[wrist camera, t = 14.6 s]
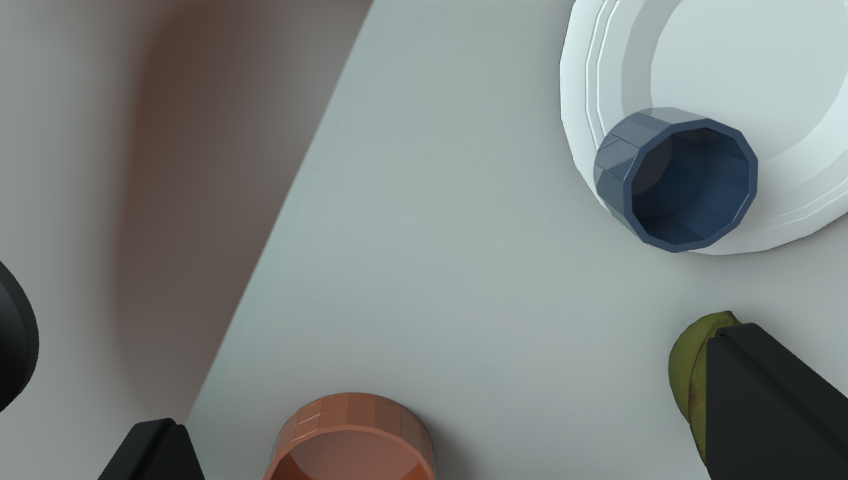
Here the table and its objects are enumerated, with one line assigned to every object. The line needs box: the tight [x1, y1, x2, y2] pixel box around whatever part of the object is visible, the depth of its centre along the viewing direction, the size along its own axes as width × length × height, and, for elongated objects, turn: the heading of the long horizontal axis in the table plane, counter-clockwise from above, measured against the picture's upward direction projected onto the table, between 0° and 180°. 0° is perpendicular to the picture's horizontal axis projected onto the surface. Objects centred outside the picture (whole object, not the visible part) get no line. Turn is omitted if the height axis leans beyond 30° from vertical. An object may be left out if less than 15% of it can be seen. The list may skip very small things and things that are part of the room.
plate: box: [559, 0, 848, 256], centre depth 37 cm, size 25×25×2 cm
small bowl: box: [593, 107, 758, 253], centre depth 35 cm, size 8×8×6 cm
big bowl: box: [263, 393, 437, 480], centre depth 45 cm, size 13×13×4 cm
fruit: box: [669, 311, 742, 466], centre depth 43 cm, size 11×12×7 cm
